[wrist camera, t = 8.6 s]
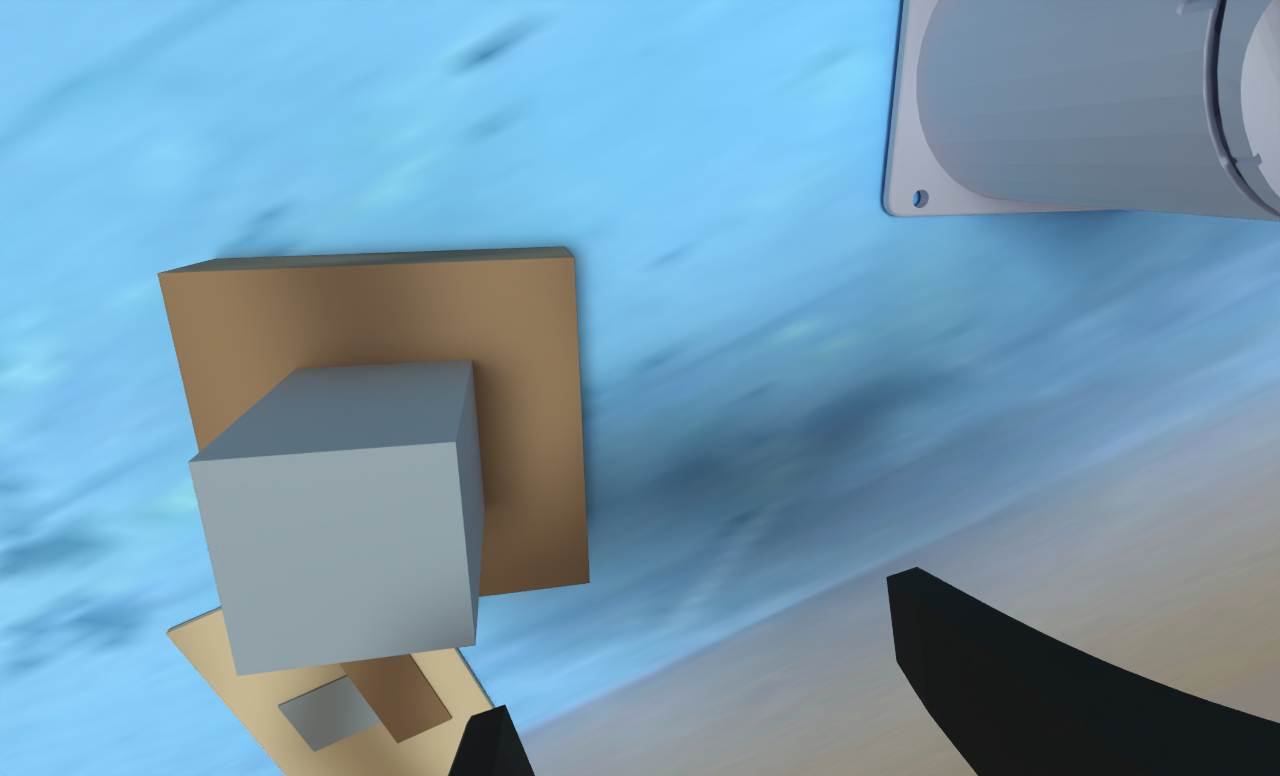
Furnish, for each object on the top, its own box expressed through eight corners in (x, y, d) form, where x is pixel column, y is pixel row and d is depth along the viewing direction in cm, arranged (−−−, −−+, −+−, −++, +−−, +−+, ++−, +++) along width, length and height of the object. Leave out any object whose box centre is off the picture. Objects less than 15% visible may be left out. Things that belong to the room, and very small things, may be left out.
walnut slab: (564, 246, 19) (574, 257, 16) (578, 530, 21) (589, 582, 19) (215, 258, 17) (157, 273, 14) (277, 563, 20) (239, 626, 17)
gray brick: (471, 359, 16) (456, 441, 11) (484, 507, 17) (475, 645, 12) (295, 368, 15) (187, 461, 10) (321, 522, 17) (237, 675, 11)
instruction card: (386, 535, 20) (384, 540, 20) (520, 749, 24) (521, 756, 24) (168, 629, 20) (164, 636, 20) (339, 832, 24) (337, 840, 23)
